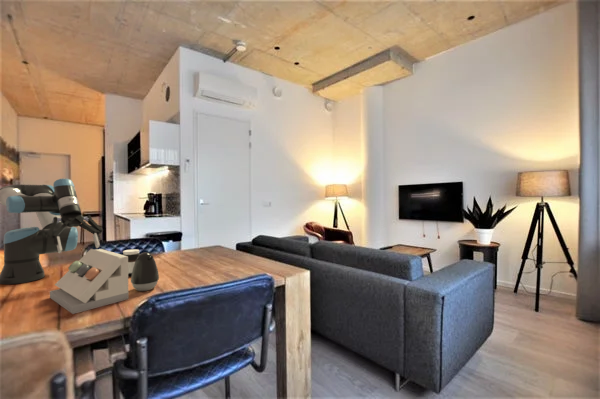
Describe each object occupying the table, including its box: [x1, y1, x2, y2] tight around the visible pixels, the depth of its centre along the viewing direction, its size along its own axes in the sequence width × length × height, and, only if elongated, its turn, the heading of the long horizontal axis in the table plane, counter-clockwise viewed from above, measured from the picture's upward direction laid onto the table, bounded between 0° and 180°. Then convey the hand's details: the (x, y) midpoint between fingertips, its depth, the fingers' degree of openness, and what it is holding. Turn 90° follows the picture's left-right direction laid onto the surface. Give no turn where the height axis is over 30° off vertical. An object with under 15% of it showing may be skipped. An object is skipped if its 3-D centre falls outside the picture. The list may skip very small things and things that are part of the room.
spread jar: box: [122, 249, 141, 277], centre depth 142 cm, size 12×11×12 cm
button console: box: [49, 248, 129, 315], centre depth 110 cm, size 25×17×17 cm
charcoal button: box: [76, 264, 91, 277], centre depth 108 cm, size 4×4×4 cm
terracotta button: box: [85, 267, 100, 281], centre depth 103 cm, size 4×4×4 cm
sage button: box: [68, 260, 83, 273], centre depth 113 cm, size 4×4×4 cm
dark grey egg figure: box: [130, 252, 160, 292], centre depth 121 cm, size 10×10×15 cm
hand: (80, 249), depth 127 cm, fingers open, 13 cm apart
